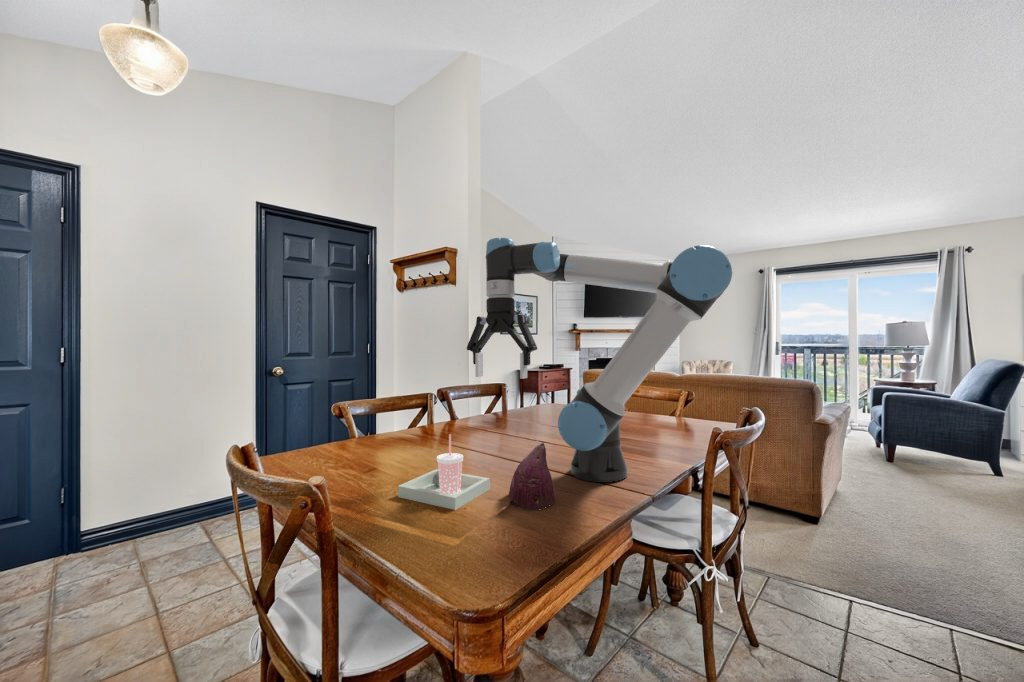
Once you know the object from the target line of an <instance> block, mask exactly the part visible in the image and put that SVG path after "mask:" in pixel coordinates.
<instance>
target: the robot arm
mask: <svg viewBox="0 0 1024 682" xmlns="http://www.w3.org/2000/svg"><path fill="white" fill-rule="evenodd" d="M559 249H560V248H558V245H557V244H556V243H555V242H553V241H541V242H536V243H527V244H526V243H525V244H519V245H518V244H517V245H515V241H514V240H513V239H512V238H510V237H509V238H508V237H493V238H491V239H489V240H488V241H487V242H486V251H485V252H486V253H485V261H486V262H485V263H486V264H485V265H486V266H485V267H486V297H488V298H486V304H485V305H486V306H485V308H486V314H487V315H486V317H484V316H479V315H478V316H477V317H476V322H475V326H474V329H473V331H472V333H471V336H470V339H469V341H468V343H467V346H466V350H467V351H469V352H470V351H471V352H472V363H473V365H475V378H480V377H481V378H482V377H484V352H482V350H483V349H484V347H485V346H486V344H487V343H488V342H489V340H490V338H491V337H492V336H493V335H494V334H496V333H497V334H498V333H499V334H500V333H502V334H503V333H505V334H506V333H507V334H508V335H510V336H511V338H512V339H513V341H514V342H515V344H517V346H518V347H519V349H520V350H521V351H522V352H520V353H519V365H520V366H519V379H520V380H521V379H522V380H523V379H528V366H530V365H531V353H532V352H535V351H537V350H538V346H537V344H536V342H535V339H534V337H533V335H532V333H531V331H530V328H529V327H528V325H527V319H526V315H525V314H518V315H515V312H516V311H515V310H516V309H515V305H516V304H515V303H516V302H515V301H516V300H515V299H514V298H513V297H515V292H516V291H515V275H525V274H526V275H528V274H533V275H537V276H539V277H541V278H544V279H545V281H546V280H547V281H549V282H568V283H576V284H582V285H591V286H600V287H606V288H615V289H622V290H624V289H625V290H631V291H636V292H646V293H652V294H655V295H656V300H655V302H654V303H653V304H652V305H651V307H650V308H649V309H648V310H647V312H646V313H645V315H644V316H643V317H642V319H641V320H640V321H639V323H638V324H637V325H636V327H635V328H634V329H633V330H632V331H631V333H630V334H629V335H628V337H627V338H626V339H625V341H624V342H623V344H622V345H621V347H619V349H618V350H617V352H616V353H615V354H614V355H613V356H612V359H610V361H609V362H608V363H607V364H606V366H605V367H604V369H603V370H602V371H601V372H600V374H599V375H598V376H597V378H596V379H595V381H593V382H592V381H591V382H585V383H584V384H583V386H582V387H581V388H580V389H578V390H577V391H576V395H575V397H574V398H573V399H572V400H571V402H569V403H567V404H566V405H565V406H563V408H562V409H561V411H560V413H559V415H558V418H557V428H558V432H559V435H560V437H561V439H562V440H563V441H564V442H565V444H567V445H568V446H569V447H571V448H572V449H574V453H573V456H572V460H571V462H570V474H571V475H572V476H573V477H575V478H577V479H580V480H583V481H587V482H594V483H595V482H596V483H612V481H615V482H619V481H618V480H620V481H623V480H624V478H625V479H626V478H627V477H628V465H627V463H626V460H625V459H626V458H625V456H624V453H623V450H622V447H621V420H622V419H623V417H624V416H625V415H626V407H625V404H626V403H627V402H628V400H629V399H630V398H631V397H632V395H633V394H634V392H636V390H637V389H638V388H639V386H640V385H641V384H642V383H643V382H644V380H645V379H646V378H647V376H648V375H650V372H651V371H652V370H653V368H655V366H656V365H657V364H658V362H660V360H661V358H663V357H664V355H665V354H666V352H667V351H668V350H669V349H670V347H672V345H673V344H674V342H676V340H677V338H678V337H679V336H680V335H681V333H682V332H683V331H684V330H685V328H686V327H687V326H688V325H689V324H690V322H695V321H699V320H702V318H703V317H704V316H705V315H706V314H707V312H708V311H709V309H711V308H712V306H713V304H715V302H716V301H717V300H718V299H719V298H720V297H721V296H722V295H723V294H724V292H725V291H726V290H727V288H728V287H729V286H730V283H731V281H732V277H733V271H732V270H733V269H732V268H733V267H732V264H731V262H730V260H729V258H728V257H727V255H726V254H725V253H724V252H723V251H721V250H720V249H719V248H716V247H714V246H711V245H707V244H705V245H704V244H701V245H693V246H690V247H688V248H686V249H685V250H683V251H681V252H680V253H679V254H678V255H677V256H676V257H675V258H674V260H671V259H670V260H669V259H668V260H667V261H665V262H664V263H659V262H651V261H640V260H638V261H636V260H627V259H616V258H608V257H596V256H589V255H588V256H586V255H585V256H584V255H575V254H566V253H560V250H559ZM486 324H487V326H486V328H485V329H484V327H485V325H486ZM515 324H517V325H518V327H519V330H520V332H521V334H522V336H521V335H520V334H519V332H518V329H517V328H516V327H515ZM483 330H484V332H483ZM522 337H523V338H524V339H523V338H522ZM622 479H623V480H622Z"/></svg>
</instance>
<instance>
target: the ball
mask: <svg viewBox="0 0 1024 682" xmlns="http://www.w3.org/2000/svg"><path fill="white" fill-rule="evenodd" d="M433 483H434V484H435V485H436V486H439V473H436V474H435V475H434V477H433Z"/></svg>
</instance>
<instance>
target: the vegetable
mask: <svg viewBox="0 0 1024 682" xmlns="http://www.w3.org/2000/svg"><path fill="white" fill-rule="evenodd" d="M547 462H548V461H547V449H546V446H545V442H543V441H542V443H540V444H538V445H536V446H535V447H534V448H533V449H532V450H531V451H530V452H529V454H527V455H526V456H525V457H524V458H523V459H522V460H521V462H520V463H519V464H518V465H517V467H516V469H515V470H514V473H513V475H512V478H511V482H510V486H509V492H508V498H509V499H510V501H509V503H510V504H511V505H512V506H513V507H515V508H517V507H518V509H521V508H522V509H521V510H525V509H526V511H534V510H535V511H540V510H539V509H542V510H544V509H543V508H545V507H547V508H549V507H550V506H549V505H551V504H552V503H553V502H554V501H555V490H554V489H555V488H554V482H553V479H552V475H551V472H550V469H549V466H548V463H547ZM554 503H555V502H554ZM554 503H553V504H554ZM548 506H549V507H548ZM551 506H552V505H551ZM545 509H546V508H545Z"/></svg>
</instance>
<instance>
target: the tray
mask: <svg viewBox="0 0 1024 682" xmlns="http://www.w3.org/2000/svg"><path fill="white" fill-rule="evenodd" d="M436 473H439V471H438V468H436V469H434V470H431V471H429V472H426V473H424V474H422V475H420V476H417V477H415V478H413V479H411V480H409V481H406V482H404V483H402V484H399V485H398V486H397V497H398V498H400V499H405V500H409V501H413V502H418V503H422V504H426V505H431V506H435V507H440V508H444V509H448V510H449V509H450V510H453V511H457V510H458V509H460V508H461V507H463V506H464V505H466V504H468V503H469V502H471V501H473V500H474V499H476V498H477V497H479V496H481V495H483V494H484V493H485V492H487V491H490V489H491V479H490V478H489V477H484V476H480V475H479V476H478V475H473V474H467V473H462V475H461V492H459V493H457V494H455V495H451V494H446V493H441V492H440V486H436V485H435V484H434V483H433V477H434V475H435V474H436Z"/></svg>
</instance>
